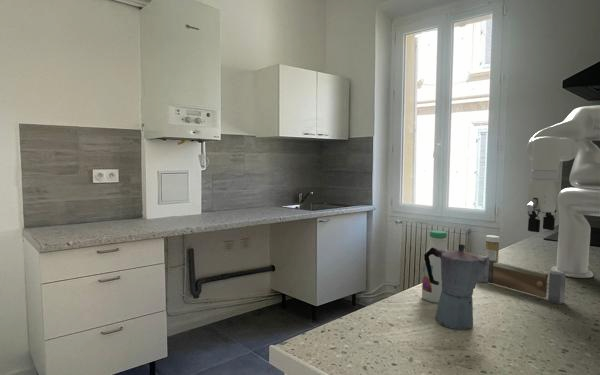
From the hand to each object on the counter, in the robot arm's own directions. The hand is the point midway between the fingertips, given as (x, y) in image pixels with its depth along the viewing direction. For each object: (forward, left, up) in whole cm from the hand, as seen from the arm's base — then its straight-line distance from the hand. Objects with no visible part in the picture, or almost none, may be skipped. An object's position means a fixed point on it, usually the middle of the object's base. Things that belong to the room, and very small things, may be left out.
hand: (541, 230), depth 125 cm
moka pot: (+47, +1, -19) cm, 51 cm away
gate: (+8, -3, -18) cm, 20 cm away
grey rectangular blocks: (+8, -3, -19) cm, 21 cm away
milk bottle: (+36, -12, -19) cm, 42 cm away
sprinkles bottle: (-6, -19, -19) cm, 28 cm away
